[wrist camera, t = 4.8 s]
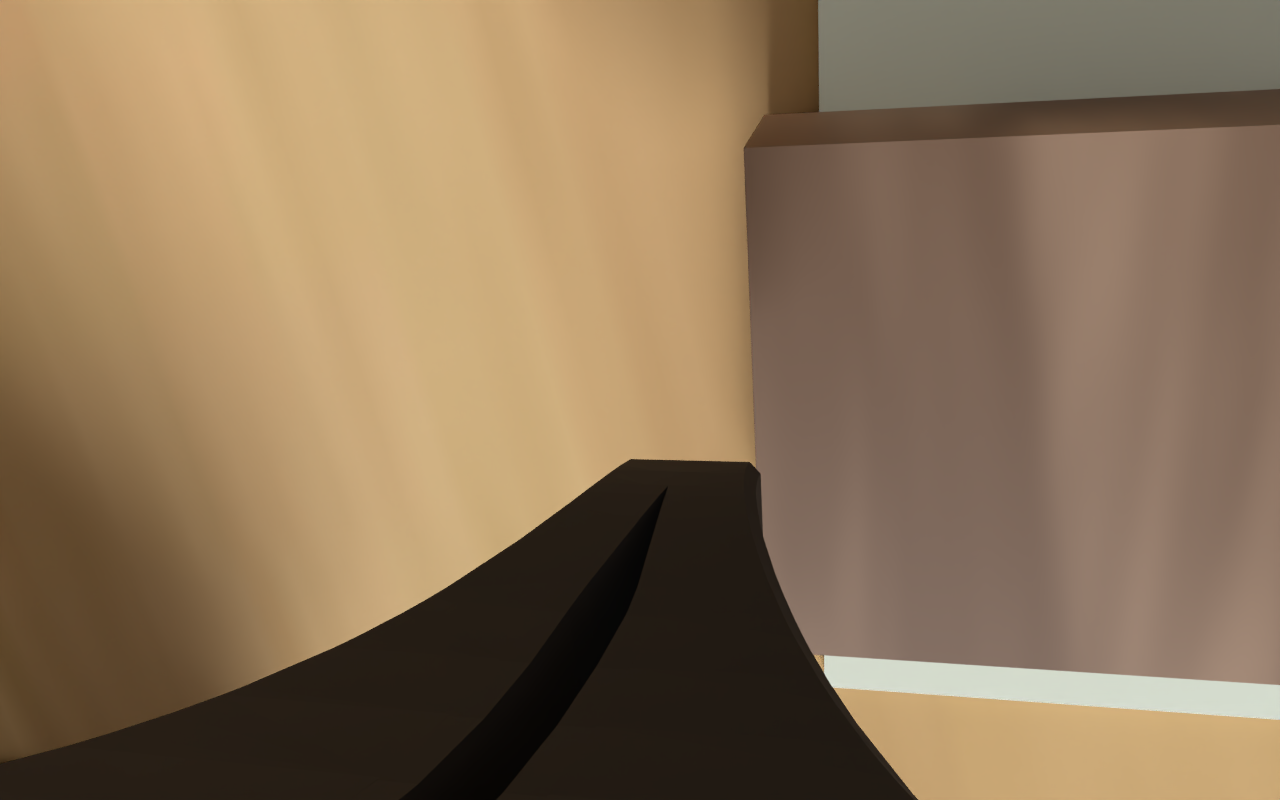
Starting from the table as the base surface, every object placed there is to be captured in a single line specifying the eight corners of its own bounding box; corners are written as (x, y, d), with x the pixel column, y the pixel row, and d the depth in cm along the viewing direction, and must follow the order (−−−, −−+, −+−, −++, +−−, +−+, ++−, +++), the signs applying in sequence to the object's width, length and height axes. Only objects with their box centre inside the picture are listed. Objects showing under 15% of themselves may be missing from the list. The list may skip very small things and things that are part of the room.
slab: (762, 651, 14) (1321, 688, 13) (743, 148, 12) (1452, 116, 10) (778, 559, 17) (1257, 580, 15) (764, 114, 14) (1352, 84, 12)
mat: (825, 675, 18) (824, 686, 17) (818, -96, 13) (817, -97, 13) (1498, 722, 15) (1510, 736, 15) (1790, -188, 11) (1814, -190, 10)
